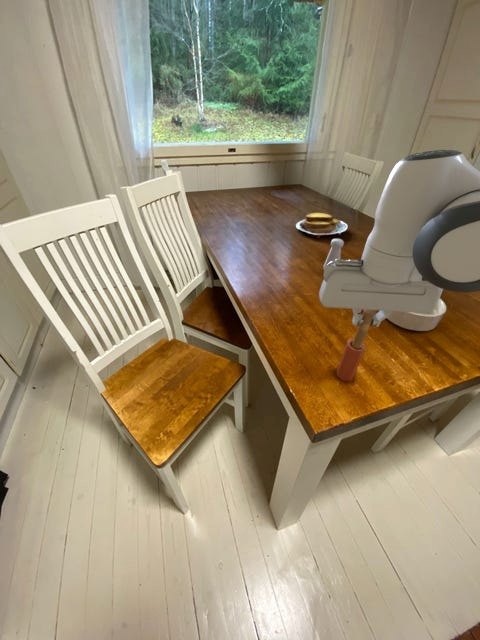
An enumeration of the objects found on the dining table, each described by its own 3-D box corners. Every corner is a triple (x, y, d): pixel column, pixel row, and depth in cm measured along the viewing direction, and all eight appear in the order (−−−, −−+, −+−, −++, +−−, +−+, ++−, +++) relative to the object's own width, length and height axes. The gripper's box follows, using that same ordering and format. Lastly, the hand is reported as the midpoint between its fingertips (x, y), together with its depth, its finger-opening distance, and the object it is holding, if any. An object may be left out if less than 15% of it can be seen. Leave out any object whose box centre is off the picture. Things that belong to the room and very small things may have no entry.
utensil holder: (355, 373, 65) (367, 343, 59) (350, 384, 63) (362, 353, 56) (339, 366, 67) (350, 336, 61) (334, 376, 64) (344, 346, 58)
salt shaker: (339, 276, 101) (348, 243, 93) (324, 276, 101) (331, 243, 93) (335, 269, 106) (344, 236, 98) (320, 268, 106) (328, 236, 98)
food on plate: (325, 244, 124) (328, 230, 120) (285, 228, 139) (286, 215, 135) (356, 231, 137) (359, 217, 133) (316, 218, 152) (318, 206, 148)
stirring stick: (351, 371, 64) (376, 310, 53) (349, 377, 63) (373, 316, 52) (343, 368, 65) (365, 307, 54) (340, 373, 64) (363, 312, 53)
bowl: (439, 312, 85) (448, 296, 81) (433, 340, 75) (443, 323, 71) (386, 296, 91) (392, 280, 88) (374, 319, 81) (380, 303, 78)
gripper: (329, 267, 44) (314, 331, 53) (461, 273, 43) (423, 338, 52) (324, 250, 49) (311, 311, 58) (441, 256, 48) (410, 317, 57)
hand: (365, 324), depth 55 cm, fingers closed on stirring stick, 2 cm apart
